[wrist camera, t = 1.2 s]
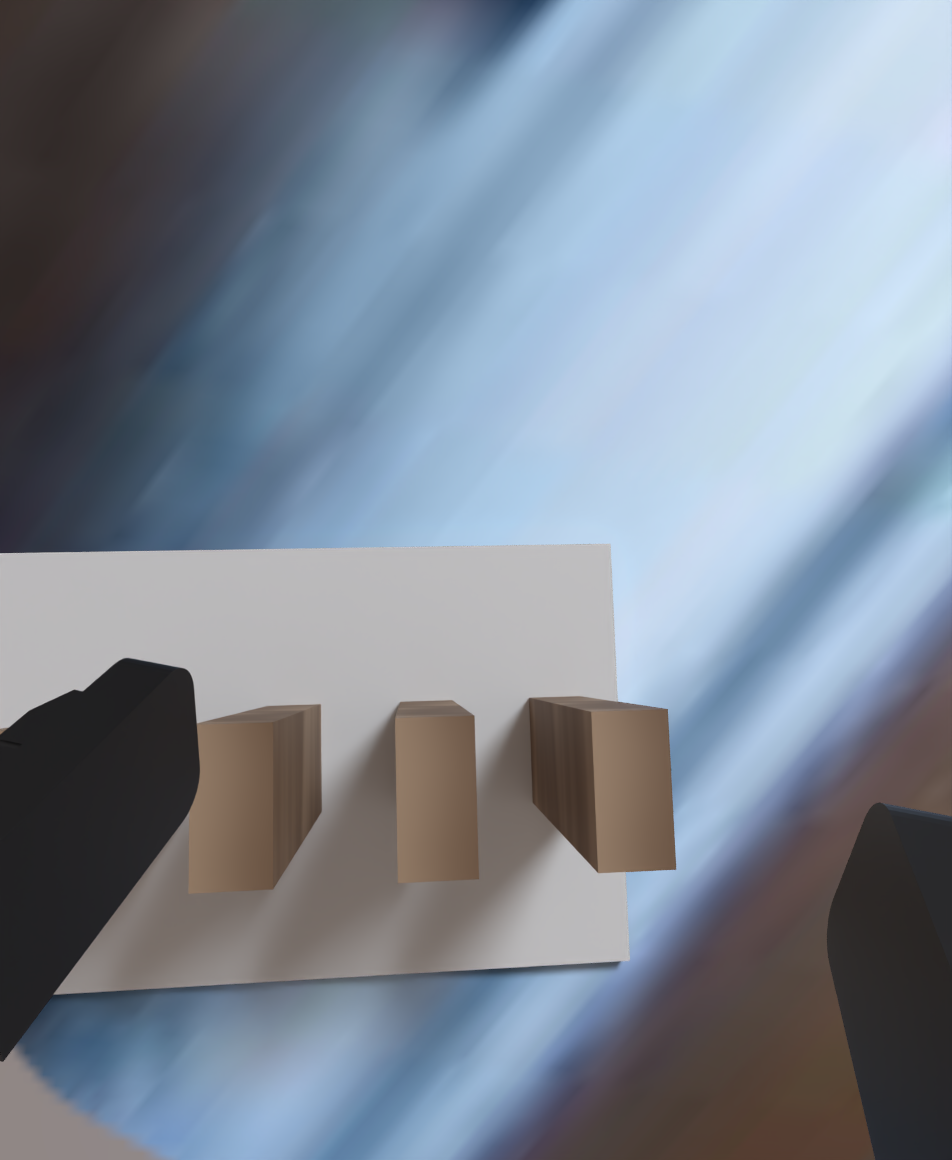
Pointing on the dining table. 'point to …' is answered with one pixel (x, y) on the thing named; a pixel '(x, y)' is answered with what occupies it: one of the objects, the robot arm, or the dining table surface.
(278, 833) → the domino
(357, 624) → the mat
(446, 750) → the domino
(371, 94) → the dining table surface
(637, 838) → the domino
